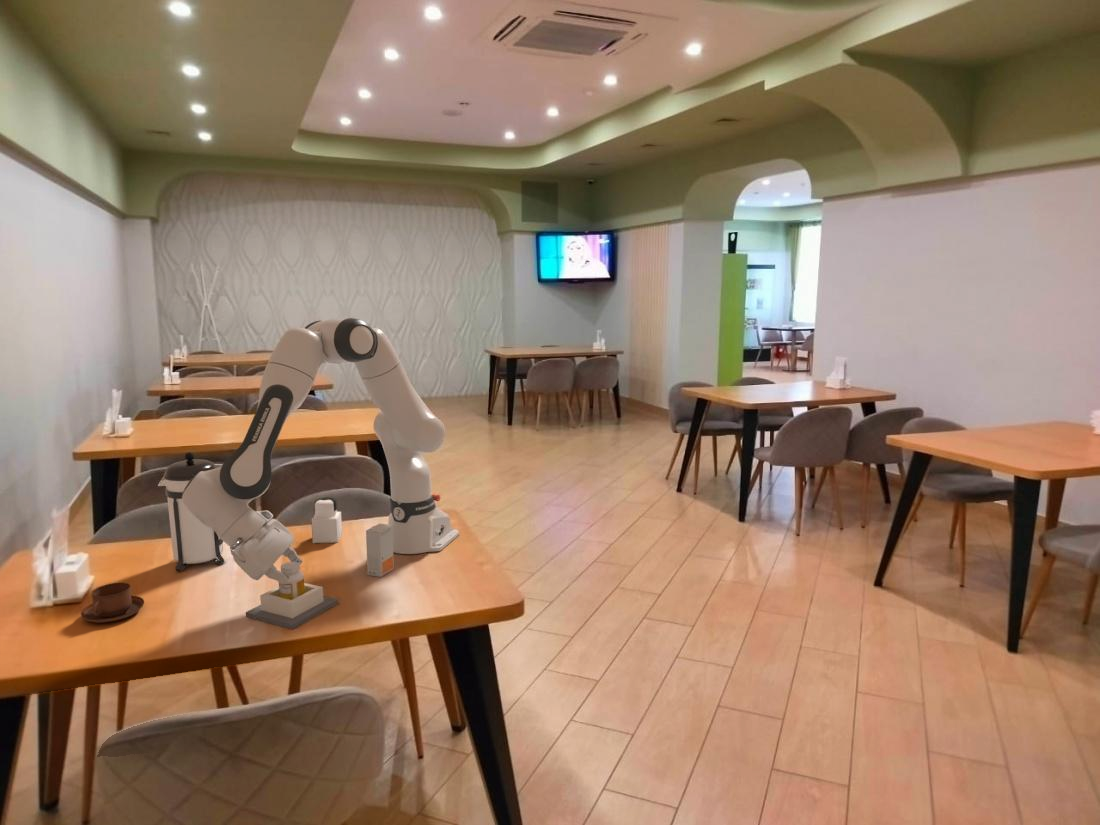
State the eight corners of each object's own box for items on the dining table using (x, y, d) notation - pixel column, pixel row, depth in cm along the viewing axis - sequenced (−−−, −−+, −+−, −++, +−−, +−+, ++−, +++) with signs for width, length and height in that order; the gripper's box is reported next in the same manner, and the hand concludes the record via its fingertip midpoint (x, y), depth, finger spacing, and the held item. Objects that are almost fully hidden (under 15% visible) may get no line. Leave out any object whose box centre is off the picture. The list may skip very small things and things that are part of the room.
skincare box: (381, 577, 179) (379, 532, 177) (367, 575, 180) (364, 530, 178) (394, 568, 184) (393, 524, 182) (380, 566, 186) (378, 522, 184)
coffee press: (201, 576, 180) (191, 461, 175) (154, 568, 185) (142, 456, 180) (251, 552, 196) (243, 446, 191) (207, 545, 201) (197, 442, 196)
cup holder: (293, 592, 170) (292, 574, 169) (338, 603, 164) (337, 585, 163) (245, 616, 158) (244, 597, 157) (292, 629, 152) (291, 609, 151)
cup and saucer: (137, 623, 155) (134, 597, 154) (74, 631, 152) (70, 604, 151) (150, 600, 166) (148, 575, 165) (92, 607, 163) (89, 581, 162)
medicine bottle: (317, 535, 210) (315, 495, 208) (342, 534, 211) (340, 495, 209) (312, 543, 203) (309, 503, 201) (337, 542, 204) (335, 502, 202)
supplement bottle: (302, 598, 165) (299, 558, 163) (308, 607, 160) (305, 566, 158) (278, 603, 162) (274, 563, 160) (283, 612, 157) (280, 571, 156)
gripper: (236, 538, 147) (287, 582, 149) (271, 508, 167) (315, 547, 169) (216, 559, 148) (267, 602, 150) (253, 526, 168) (297, 565, 170)
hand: (293, 572), depth 160 cm, fingers open, 8 cm apart
